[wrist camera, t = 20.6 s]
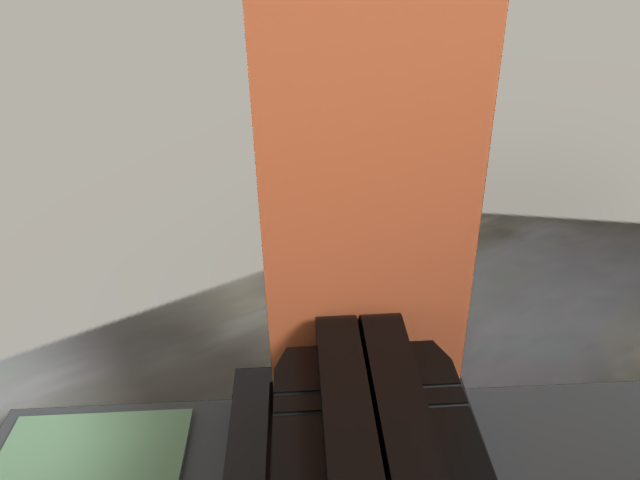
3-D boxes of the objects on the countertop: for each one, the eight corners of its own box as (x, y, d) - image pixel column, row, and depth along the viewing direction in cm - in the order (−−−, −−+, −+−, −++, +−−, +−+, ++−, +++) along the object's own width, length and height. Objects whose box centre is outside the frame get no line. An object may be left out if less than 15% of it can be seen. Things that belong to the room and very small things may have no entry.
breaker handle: (412, 401, 17) (462, -232, 10) (448, 544, 13) (571, -322, 6) (281, 407, 17) (236, -228, 10) (279, 553, 13) (200, -318, 6)
